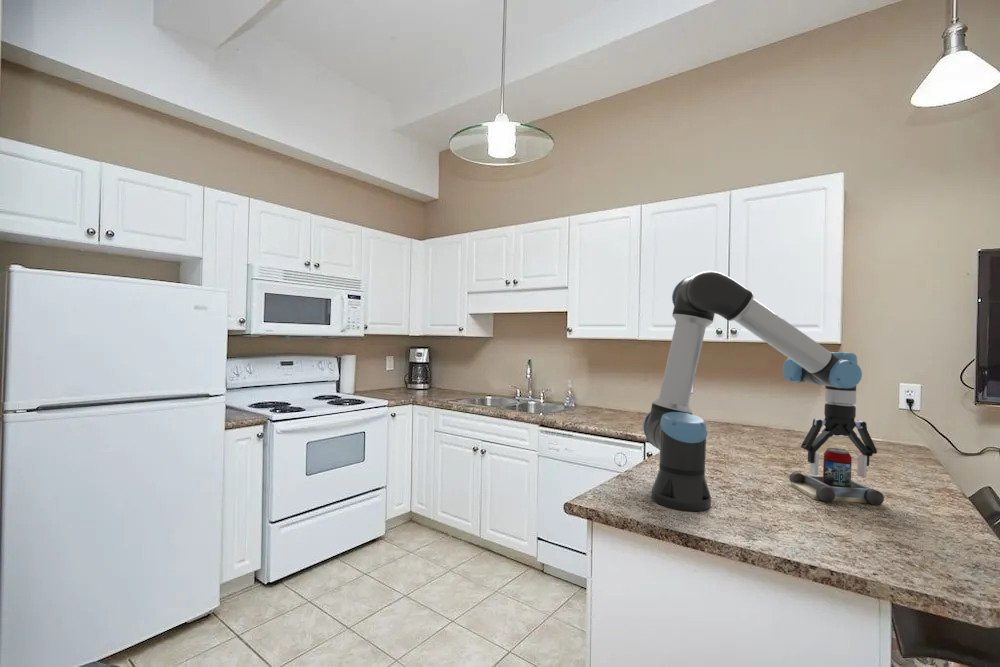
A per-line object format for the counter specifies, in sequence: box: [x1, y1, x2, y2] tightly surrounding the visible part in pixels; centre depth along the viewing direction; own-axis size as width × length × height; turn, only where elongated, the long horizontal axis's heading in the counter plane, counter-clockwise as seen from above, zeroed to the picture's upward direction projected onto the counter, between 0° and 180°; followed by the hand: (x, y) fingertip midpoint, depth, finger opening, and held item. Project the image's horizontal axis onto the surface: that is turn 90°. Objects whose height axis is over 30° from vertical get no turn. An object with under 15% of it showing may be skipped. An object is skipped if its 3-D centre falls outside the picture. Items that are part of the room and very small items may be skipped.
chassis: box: [789, 471, 885, 506], centre depth 139 cm, size 18×16×4 cm
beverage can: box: [822, 447, 853, 488], centre depth 139 cm, size 7×7×12 cm
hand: (837, 475), depth 139 cm, fingers open, 13 cm apart
